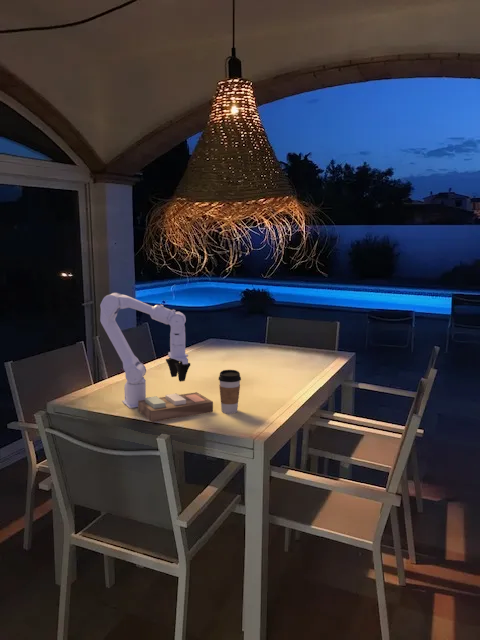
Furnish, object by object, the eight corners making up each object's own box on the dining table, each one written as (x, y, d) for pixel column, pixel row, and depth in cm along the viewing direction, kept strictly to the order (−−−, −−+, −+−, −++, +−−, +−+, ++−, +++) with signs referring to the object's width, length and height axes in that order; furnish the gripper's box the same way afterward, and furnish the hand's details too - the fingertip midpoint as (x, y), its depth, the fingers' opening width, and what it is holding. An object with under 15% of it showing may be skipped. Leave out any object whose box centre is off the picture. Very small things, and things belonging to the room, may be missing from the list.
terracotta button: (185, 405, 206) (185, 395, 205) (195, 404, 208) (195, 394, 207) (194, 412, 198) (194, 401, 198) (205, 410, 200) (205, 400, 200)
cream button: (165, 405, 202) (165, 394, 201) (176, 403, 204) (176, 393, 203) (174, 411, 194) (174, 401, 193) (186, 410, 196) (186, 399, 196)
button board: (138, 410, 199) (138, 400, 199) (196, 402, 211) (196, 392, 210) (151, 422, 187) (151, 411, 187) (212, 412, 199) (213, 401, 198)
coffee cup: (240, 407, 204) (241, 369, 202) (240, 415, 196) (241, 375, 194) (218, 407, 204) (218, 369, 202) (217, 414, 196) (218, 375, 194)
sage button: (145, 408, 198) (145, 397, 197) (156, 406, 200) (156, 396, 199) (154, 415, 190) (153, 404, 189) (165, 413, 192) (165, 402, 192)
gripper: (195, 346, 199) (195, 381, 201) (179, 340, 212) (180, 373, 214) (178, 348, 196) (178, 384, 198) (163, 341, 208) (163, 375, 210)
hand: (177, 378), depth 206 cm, fingers open, 7 cm apart
